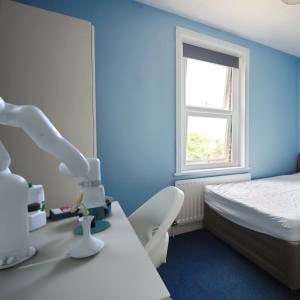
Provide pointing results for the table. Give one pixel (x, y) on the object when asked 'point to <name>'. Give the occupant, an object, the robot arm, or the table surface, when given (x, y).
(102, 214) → the tin
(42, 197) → the milk carton
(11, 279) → the table surface
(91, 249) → the flower in vase
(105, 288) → the table surface
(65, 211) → the calculator
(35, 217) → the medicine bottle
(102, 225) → the lid
